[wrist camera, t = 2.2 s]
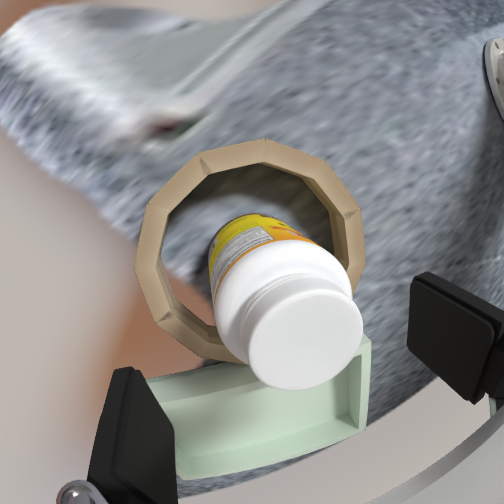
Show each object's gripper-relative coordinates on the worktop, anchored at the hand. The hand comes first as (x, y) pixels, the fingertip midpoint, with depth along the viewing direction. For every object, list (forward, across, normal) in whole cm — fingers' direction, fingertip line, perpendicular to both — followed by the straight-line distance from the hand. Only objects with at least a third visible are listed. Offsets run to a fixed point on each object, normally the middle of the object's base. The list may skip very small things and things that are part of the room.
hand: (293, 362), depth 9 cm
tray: (+10, +2, +13) cm, 17 cm away
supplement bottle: (+10, -1, 0) cm, 11 cm away
